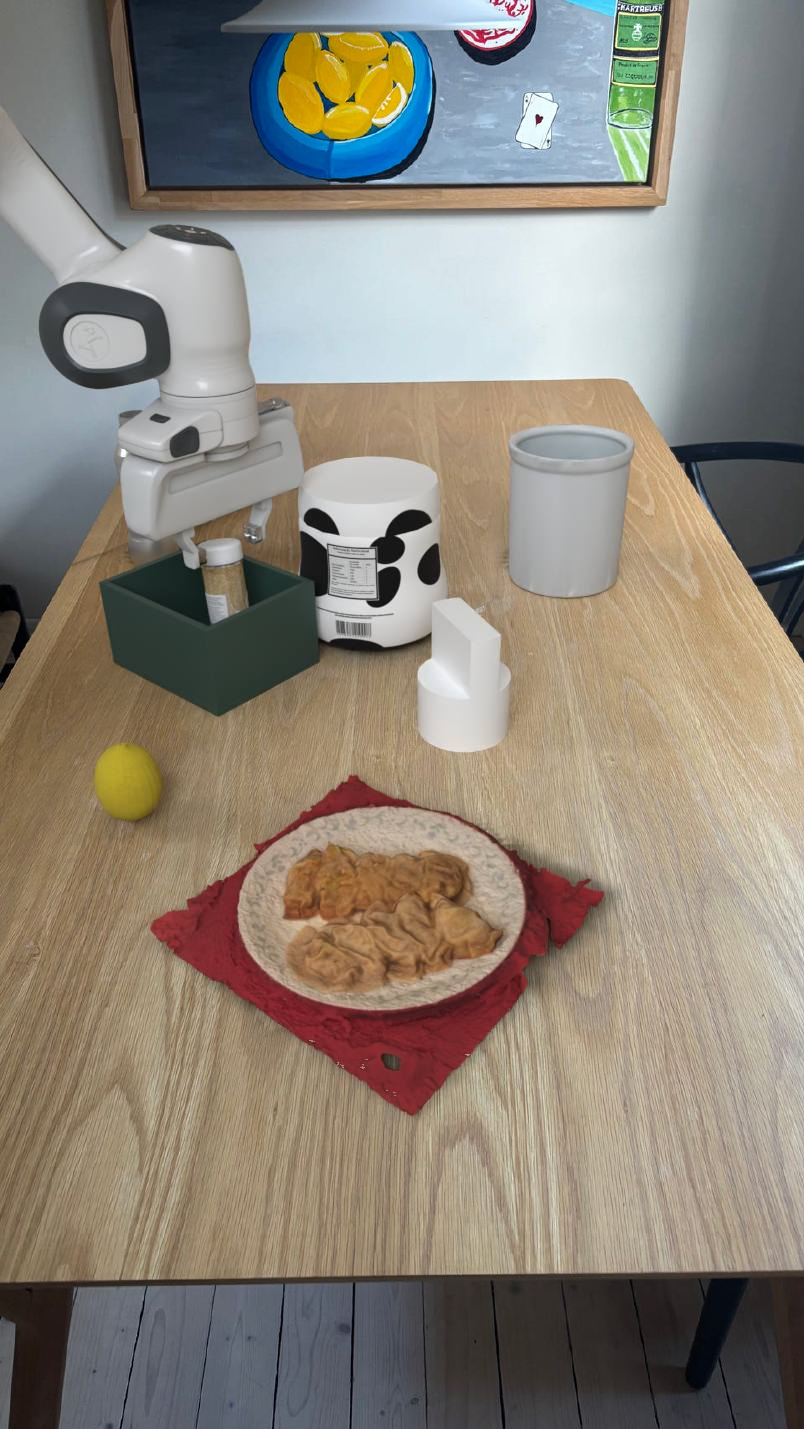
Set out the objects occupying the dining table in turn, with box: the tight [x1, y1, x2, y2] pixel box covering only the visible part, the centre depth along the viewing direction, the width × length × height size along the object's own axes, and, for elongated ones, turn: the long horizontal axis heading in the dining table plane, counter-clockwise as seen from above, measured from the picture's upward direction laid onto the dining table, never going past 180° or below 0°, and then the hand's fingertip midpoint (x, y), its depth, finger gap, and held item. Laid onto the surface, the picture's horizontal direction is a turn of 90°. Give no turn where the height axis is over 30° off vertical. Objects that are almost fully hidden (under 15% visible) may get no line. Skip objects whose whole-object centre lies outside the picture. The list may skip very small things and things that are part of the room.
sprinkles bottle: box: [198, 537, 250, 625], centre depth 108 cm, size 5×5×14 cm
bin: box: [98, 539, 320, 718], centre depth 111 cm, size 18×15×10 cm
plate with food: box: [150, 774, 605, 1117], centre depth 78 cm, size 24×26×4 cm
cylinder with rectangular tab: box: [417, 597, 512, 753], centre depth 98 cm, size 9×9×12 cm
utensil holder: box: [508, 423, 636, 599], centre depth 126 cm, size 15×15×18 cm
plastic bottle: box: [113, 409, 180, 567], centre depth 130 cm, size 6×7×20 cm
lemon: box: [93, 742, 163, 822], centre depth 88 cm, size 6×6×8 cm
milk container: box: [297, 455, 449, 652], centre depth 115 cm, size 17×17×18 cm
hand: (226, 553), depth 103 cm, fingers open, 6 cm apart
